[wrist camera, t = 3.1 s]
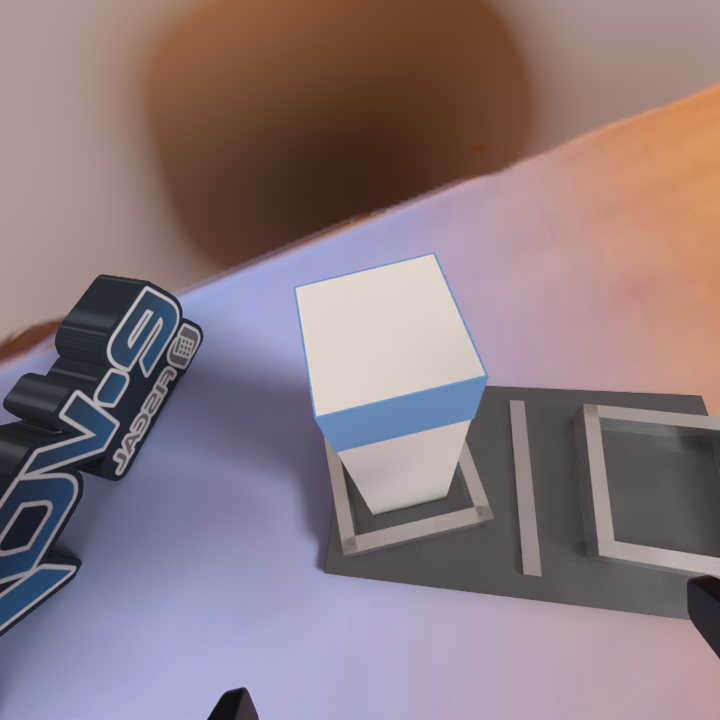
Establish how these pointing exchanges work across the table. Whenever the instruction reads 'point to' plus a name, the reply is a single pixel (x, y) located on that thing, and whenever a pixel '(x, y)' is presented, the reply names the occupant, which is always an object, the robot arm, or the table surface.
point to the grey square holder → (596, 487)
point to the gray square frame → (415, 530)
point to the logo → (82, 425)
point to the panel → (556, 508)
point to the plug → (391, 377)
